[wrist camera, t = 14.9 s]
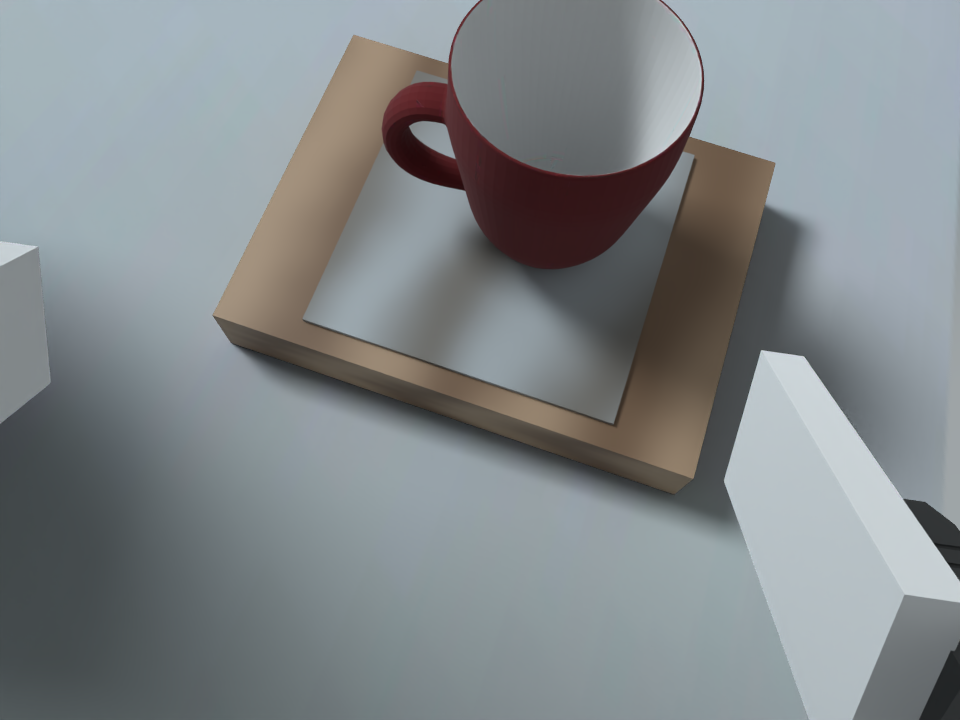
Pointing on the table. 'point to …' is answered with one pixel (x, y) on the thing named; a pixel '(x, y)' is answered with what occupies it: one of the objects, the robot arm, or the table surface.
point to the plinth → (497, 290)
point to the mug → (556, 120)
